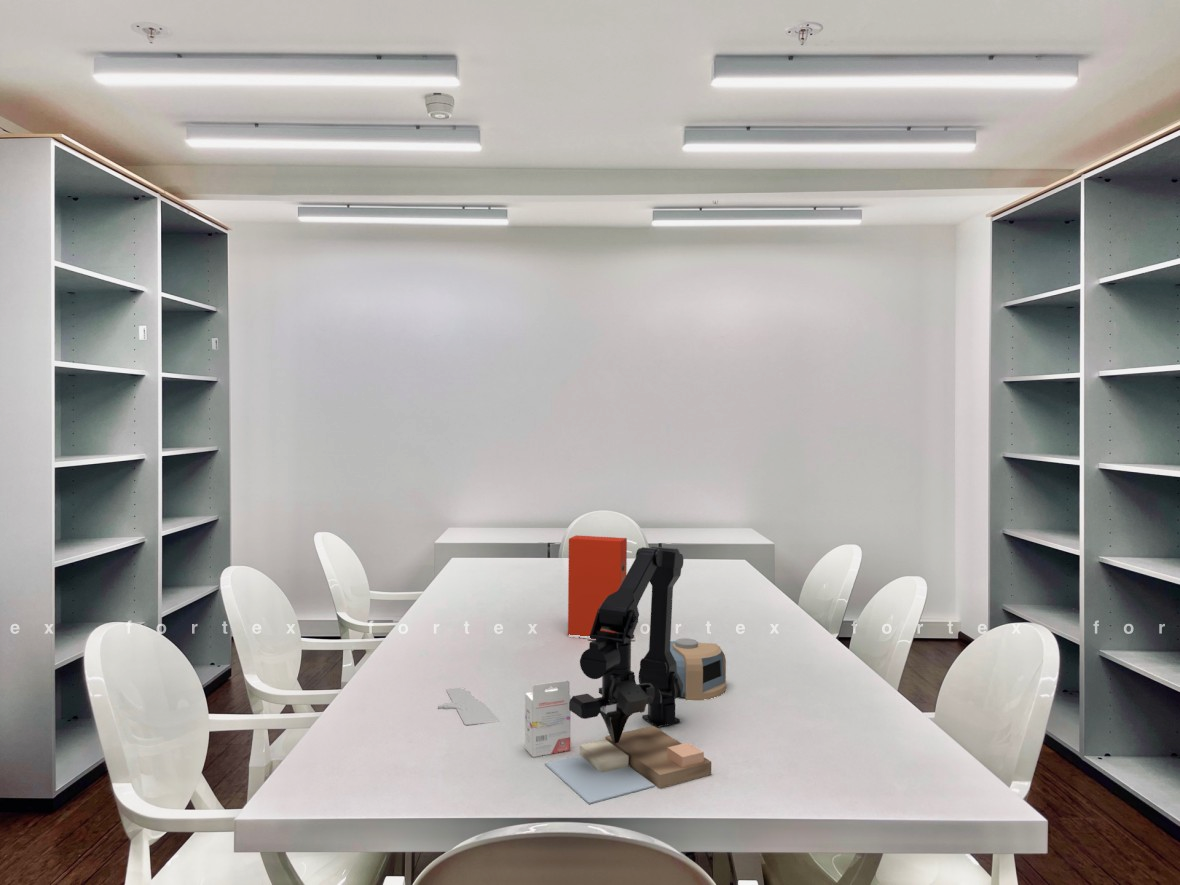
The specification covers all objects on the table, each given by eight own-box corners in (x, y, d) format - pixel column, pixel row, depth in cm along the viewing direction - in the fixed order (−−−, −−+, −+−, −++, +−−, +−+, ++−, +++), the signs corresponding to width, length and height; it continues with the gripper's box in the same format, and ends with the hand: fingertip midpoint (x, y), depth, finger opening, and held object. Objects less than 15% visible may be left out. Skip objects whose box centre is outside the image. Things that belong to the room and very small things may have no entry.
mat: (544, 764, 147) (544, 762, 147) (605, 750, 154) (605, 749, 154) (589, 804, 132) (589, 802, 132) (654, 786, 139) (654, 785, 139)
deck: (605, 748, 155) (605, 736, 155) (653, 737, 161) (653, 725, 161) (659, 788, 138) (660, 775, 138) (711, 774, 144) (711, 761, 144)
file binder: (619, 642, 234) (620, 541, 234) (567, 637, 240) (568, 538, 239) (625, 636, 242) (627, 537, 242) (575, 631, 247) (576, 535, 247)
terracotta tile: (667, 757, 145) (667, 747, 145) (687, 752, 148) (688, 742, 148) (682, 767, 141) (682, 757, 141) (703, 762, 144) (703, 752, 143)
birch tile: (579, 754, 151) (579, 745, 151) (605, 748, 154) (605, 739, 154) (602, 772, 144) (602, 762, 144) (628, 766, 146) (628, 755, 146)
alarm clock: (697, 706, 180) (697, 656, 180) (633, 687, 194) (633, 640, 194) (739, 687, 194) (739, 641, 194) (676, 670, 208) (676, 627, 208)
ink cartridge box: (562, 742, 158) (562, 673, 158) (570, 751, 154) (571, 680, 154) (523, 748, 155) (524, 677, 155) (531, 758, 150) (532, 685, 150)
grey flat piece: (430, 692, 188) (430, 688, 188) (519, 685, 197) (520, 680, 197) (447, 729, 165) (447, 724, 165) (548, 719, 173) (548, 714, 173)
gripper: (596, 683, 138) (595, 767, 138) (678, 669, 147) (676, 748, 148) (568, 667, 148) (567, 745, 148) (646, 655, 157) (645, 728, 157)
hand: (615, 742), depth 150 cm, fingers closed
